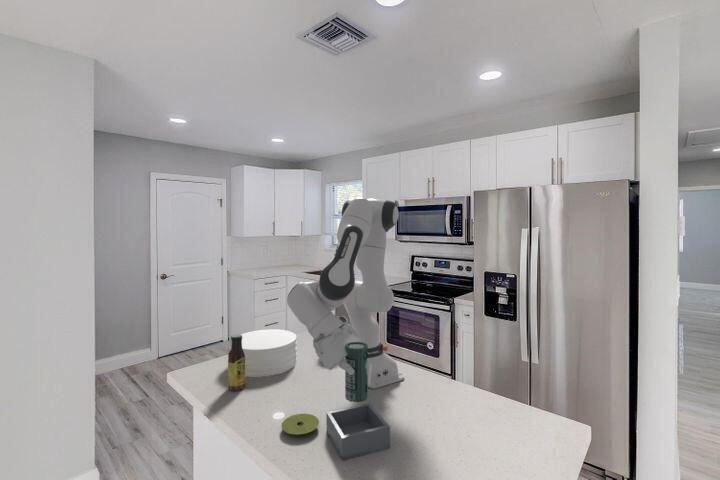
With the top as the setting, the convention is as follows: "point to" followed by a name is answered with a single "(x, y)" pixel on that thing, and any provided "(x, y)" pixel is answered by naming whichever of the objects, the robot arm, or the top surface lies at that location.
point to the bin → (357, 431)
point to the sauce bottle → (236, 364)
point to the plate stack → (269, 352)
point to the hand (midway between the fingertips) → (358, 367)
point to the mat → (300, 424)
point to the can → (357, 372)
